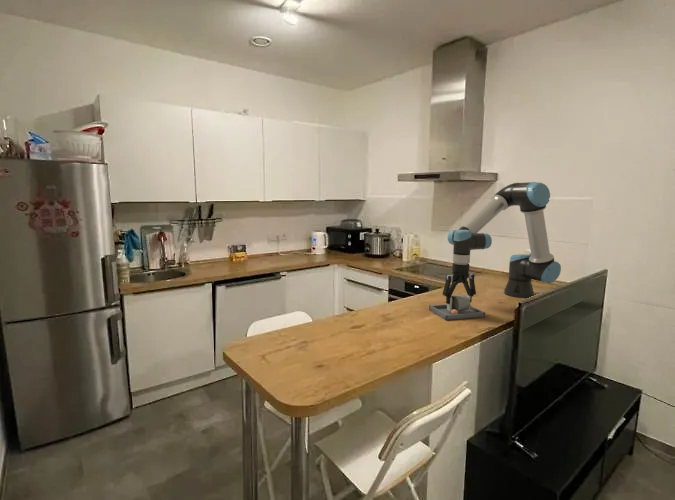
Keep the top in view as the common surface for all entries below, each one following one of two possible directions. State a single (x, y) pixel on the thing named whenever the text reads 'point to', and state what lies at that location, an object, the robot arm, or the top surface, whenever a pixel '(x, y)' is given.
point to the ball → (454, 311)
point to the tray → (446, 314)
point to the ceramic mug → (460, 303)
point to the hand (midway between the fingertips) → (458, 309)
